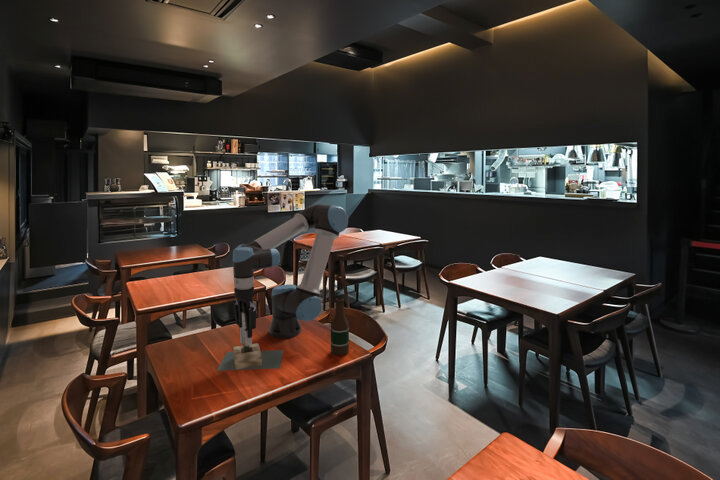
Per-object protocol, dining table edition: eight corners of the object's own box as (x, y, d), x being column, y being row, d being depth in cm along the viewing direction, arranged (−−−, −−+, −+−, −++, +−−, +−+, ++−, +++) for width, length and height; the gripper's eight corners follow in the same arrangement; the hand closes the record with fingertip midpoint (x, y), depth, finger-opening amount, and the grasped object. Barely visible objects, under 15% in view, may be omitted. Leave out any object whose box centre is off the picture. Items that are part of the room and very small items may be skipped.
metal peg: (249, 352, 160) (248, 310, 157) (250, 355, 158) (248, 312, 155) (243, 353, 159) (241, 310, 156) (243, 356, 157) (241, 313, 154)
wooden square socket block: (258, 354, 166) (258, 343, 165) (261, 365, 156) (261, 353, 156) (233, 358, 162) (233, 346, 161) (235, 369, 153) (234, 357, 152)
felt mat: (284, 350, 170) (284, 350, 170) (279, 369, 154) (279, 368, 154) (227, 352, 168) (226, 351, 168) (216, 371, 152) (216, 370, 152)
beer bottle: (340, 346, 175) (340, 294, 170) (352, 352, 169) (352, 298, 165) (327, 352, 169) (326, 298, 165) (339, 358, 164) (338, 302, 160)
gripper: (224, 285, 156) (226, 341, 160) (248, 293, 146) (250, 352, 150) (240, 281, 162) (242, 335, 165) (264, 288, 152) (266, 345, 156)
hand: (246, 343), depth 158 cm, fingers closed on metal peg, 2 cm apart
